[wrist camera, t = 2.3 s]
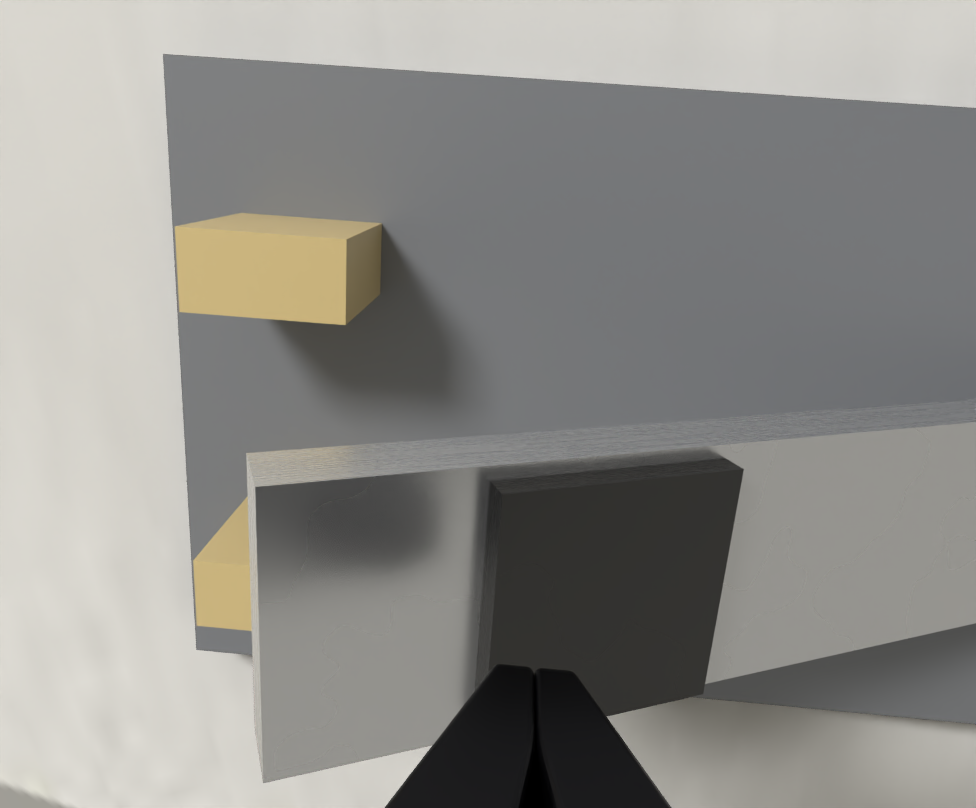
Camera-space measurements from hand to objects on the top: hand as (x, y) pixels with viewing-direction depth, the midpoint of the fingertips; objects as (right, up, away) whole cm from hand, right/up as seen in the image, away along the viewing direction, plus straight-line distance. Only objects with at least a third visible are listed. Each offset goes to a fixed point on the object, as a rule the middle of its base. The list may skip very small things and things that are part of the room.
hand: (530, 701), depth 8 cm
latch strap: (+5, +1, +5) cm, 7 cm away
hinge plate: (+5, +3, +10) cm, 12 cm away
